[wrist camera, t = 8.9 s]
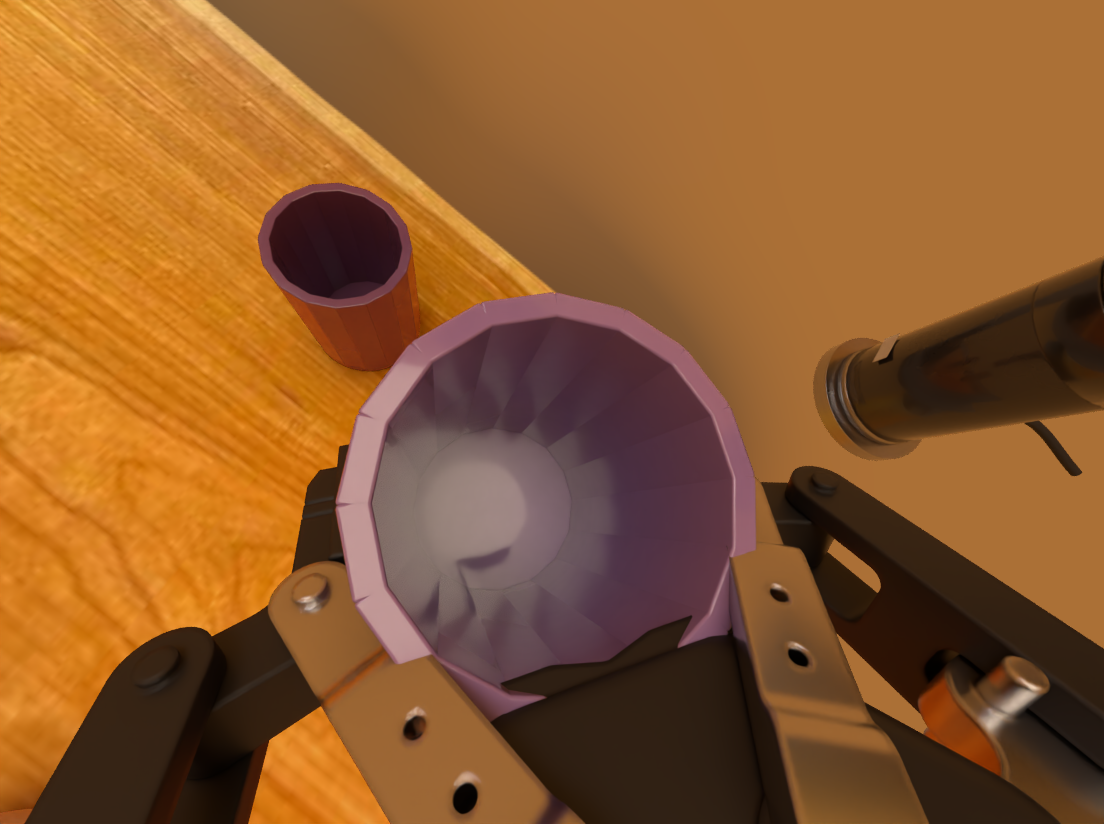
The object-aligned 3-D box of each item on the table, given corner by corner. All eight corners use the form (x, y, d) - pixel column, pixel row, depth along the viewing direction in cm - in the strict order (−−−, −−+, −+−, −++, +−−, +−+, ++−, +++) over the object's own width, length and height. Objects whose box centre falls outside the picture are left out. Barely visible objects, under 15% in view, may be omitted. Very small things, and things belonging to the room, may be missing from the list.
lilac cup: (584, 435, 17) (754, 338, 8) (568, 606, 16) (760, 739, 6) (421, 408, 16) (394, 252, 7) (385, 592, 14) (278, 732, 5)
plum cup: (427, 292, 30) (422, 203, 21) (409, 379, 28) (395, 320, 20) (328, 270, 29) (280, 167, 20) (304, 360, 27) (239, 289, 18)
